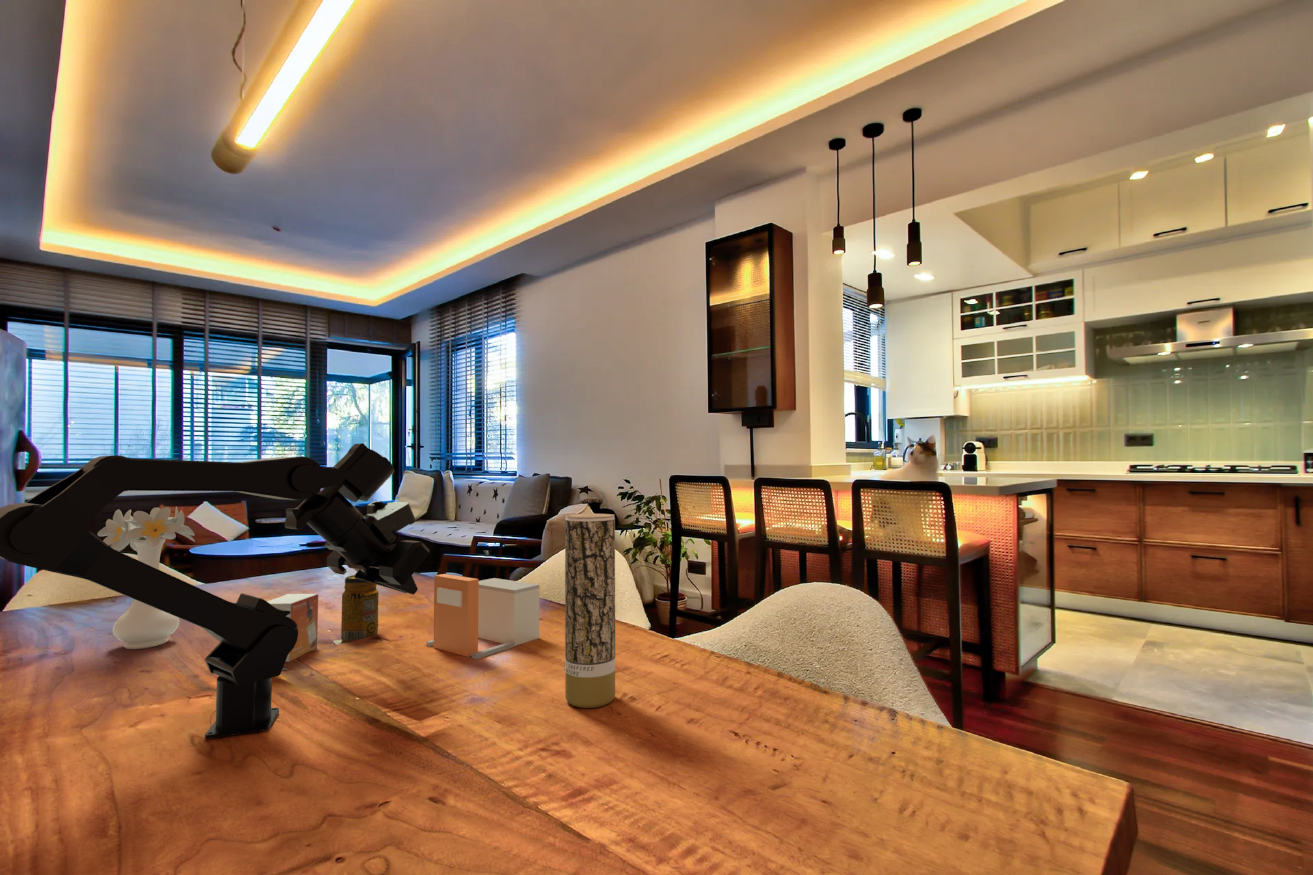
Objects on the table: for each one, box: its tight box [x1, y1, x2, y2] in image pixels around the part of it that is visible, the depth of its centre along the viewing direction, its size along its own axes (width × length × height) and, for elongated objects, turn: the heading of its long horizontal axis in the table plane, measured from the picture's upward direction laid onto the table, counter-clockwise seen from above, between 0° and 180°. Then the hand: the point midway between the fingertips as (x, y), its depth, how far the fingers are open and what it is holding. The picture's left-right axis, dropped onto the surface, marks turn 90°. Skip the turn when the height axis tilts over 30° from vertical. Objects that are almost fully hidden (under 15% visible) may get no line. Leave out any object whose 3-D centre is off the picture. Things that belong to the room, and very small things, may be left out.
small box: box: [266, 593, 319, 671], centre depth 100 cm, size 8×6×10 cm
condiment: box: [332, 574, 379, 646], centre depth 111 cm, size 7×8×12 cm
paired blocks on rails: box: [425, 577, 540, 660], centre depth 104 cm, size 20×14×11 cm
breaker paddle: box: [433, 573, 480, 658], centre depth 101 cm, size 2×9×12 cm, turn 55°
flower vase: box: [96, 506, 196, 650], centre depth 111 cm, size 13×18×25 cm
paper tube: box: [564, 513, 616, 709], centre depth 84 cm, size 7×7×25 cm
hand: (411, 591), depth 95 cm, fingers closed
